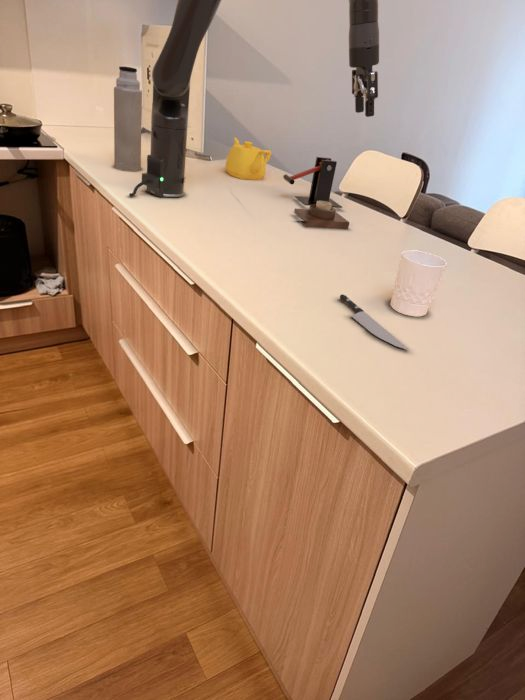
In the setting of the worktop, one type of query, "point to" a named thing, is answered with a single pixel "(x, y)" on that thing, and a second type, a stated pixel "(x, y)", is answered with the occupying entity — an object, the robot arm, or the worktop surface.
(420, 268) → the white cup
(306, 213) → the button block
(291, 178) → the lever
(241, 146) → the teapot
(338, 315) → the worktop surface
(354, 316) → the chef's knife
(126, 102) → the thermos bottle
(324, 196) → the bracket
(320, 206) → the button
